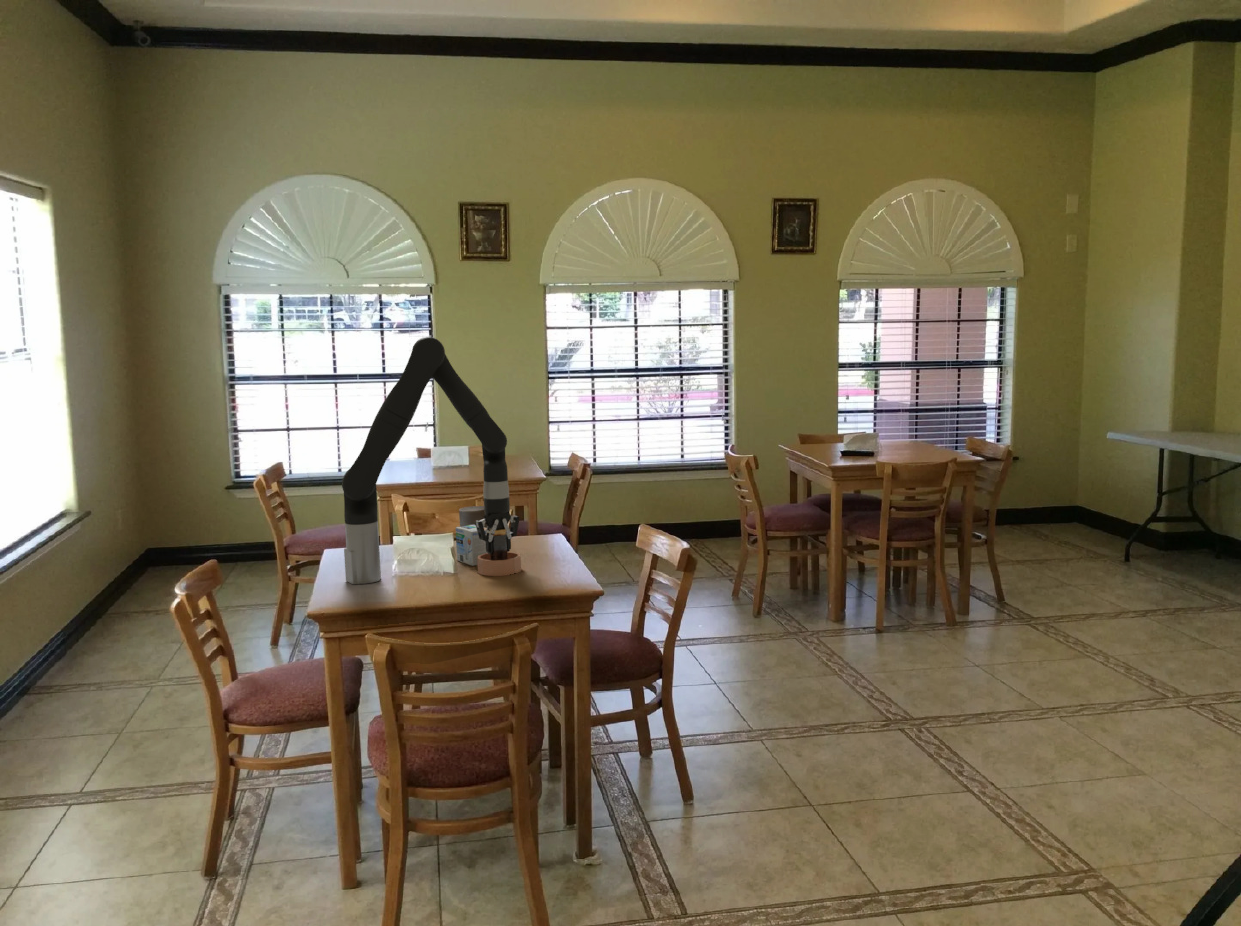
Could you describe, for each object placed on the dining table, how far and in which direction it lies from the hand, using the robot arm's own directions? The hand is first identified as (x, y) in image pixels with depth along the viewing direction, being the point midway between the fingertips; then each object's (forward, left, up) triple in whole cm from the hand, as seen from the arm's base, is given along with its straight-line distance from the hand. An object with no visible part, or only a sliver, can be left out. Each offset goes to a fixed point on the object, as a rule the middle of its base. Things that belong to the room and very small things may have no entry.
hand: (498, 552), depth 301 cm
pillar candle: (+9, +34, -6) cm, 36 cm away
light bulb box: (0, +17, -6) cm, 18 cm away
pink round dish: (0, 0, -6) cm, 6 cm away
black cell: (0, 0, -3) cm, 3 cm away
